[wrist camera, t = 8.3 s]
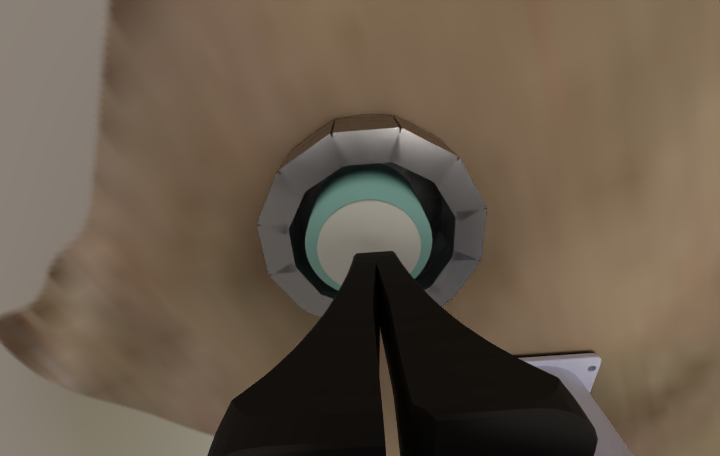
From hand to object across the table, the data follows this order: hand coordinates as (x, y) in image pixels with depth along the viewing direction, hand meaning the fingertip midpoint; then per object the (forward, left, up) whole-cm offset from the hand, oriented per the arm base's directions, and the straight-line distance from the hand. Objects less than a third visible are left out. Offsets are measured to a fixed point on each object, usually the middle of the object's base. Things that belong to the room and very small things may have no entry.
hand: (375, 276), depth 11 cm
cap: (0, 0, -5) cm, 5 cm away
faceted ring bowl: (0, 0, -6) cm, 6 cm away
